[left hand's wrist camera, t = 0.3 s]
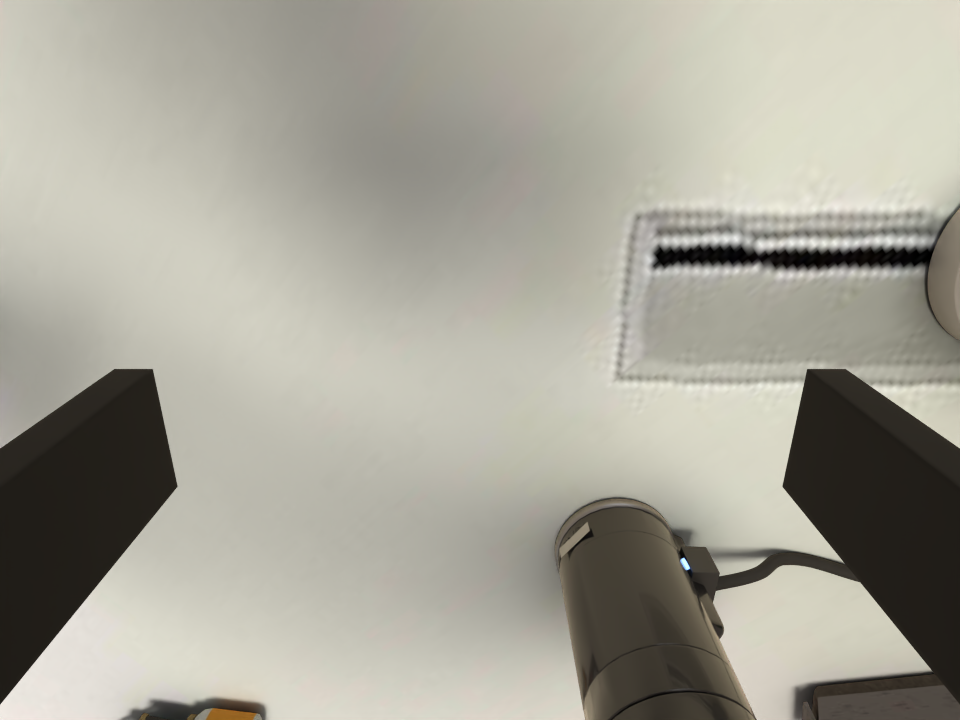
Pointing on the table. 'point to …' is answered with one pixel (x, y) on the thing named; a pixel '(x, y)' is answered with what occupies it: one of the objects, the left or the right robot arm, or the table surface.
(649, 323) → the table surface
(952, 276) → the bust sculpture
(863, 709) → the toy
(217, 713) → the spray gun
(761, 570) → the right robot arm
